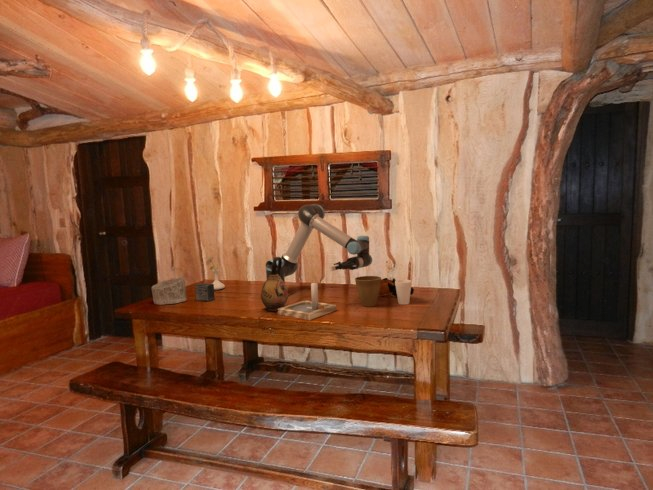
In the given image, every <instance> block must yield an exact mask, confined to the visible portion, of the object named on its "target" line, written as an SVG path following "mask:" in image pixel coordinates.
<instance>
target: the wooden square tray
mask: <svg viewBox="0 0 653 490" xmlns="http://www.w3.org/2000/svg"><path fill="white" fill-rule="evenodd" d="M305 304H312V300H306V299H305V300H301V301H298V302H295V303H292V304H289V305H284V306H283V307H282V308H279V309H277V310H278V311H277V315H278V316H284V315H285V317H291V318H295V319H296V318H297V319H301V320H307V321H312V320H314V319H316V318H319V317H322V316H325V315H328V314H330V313H332V312H335V311H337V304H331V303H326V302H319V301H318V305H319V309H318V310H316V311H313V312H310V313H307V312H301V311H296V310H293V307H295V306H298V305H305Z"/></svg>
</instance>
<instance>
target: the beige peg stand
mask: <svg viewBox="0 0 653 490" xmlns="http://www.w3.org/2000/svg"><path fill="white" fill-rule="evenodd" d="M310 290H311V291H310V292H311V293H310V294H311V295H310V296H311V297H310V298H311V301H312V304H305V305H298V306H295V307H293V310H296V311H301V312H307V313H310V312H313V311H316V310H318V309H319V305H318V302H319V285H318V283H317V282H312V283H310Z"/></svg>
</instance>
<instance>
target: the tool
mask: <svg viewBox="0 0 653 490" xmlns="http://www.w3.org/2000/svg"><path fill="white" fill-rule="evenodd" d="M396 280H397V279H396V278H394V277H393V278H392V279H389V278H388V277H385V278H381V284H380V290H379V295H378V297H384V296H385V295H387V297H388V298H389V297H391V296H393V297H395V298H396V299H398V298H397V292H396V286H395V281H396ZM414 293H415V289H414V288H413V287H412V286H411V292H410V296H412V295H413V294H414Z"/></svg>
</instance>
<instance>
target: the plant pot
mask: <svg viewBox="0 0 653 490" xmlns="http://www.w3.org/2000/svg"><path fill="white" fill-rule="evenodd" d="M381 279H382V277H380V276H379V275H364V276H357V277H355V278H354V281H355V286H356V291H357V294H358V297H359V299H360V300H359V301H360V303H361V305H362V306H363V307H366V308H369V307H375V306H376V305H377V302H378V298H379V290H380V284H381Z"/></svg>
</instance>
